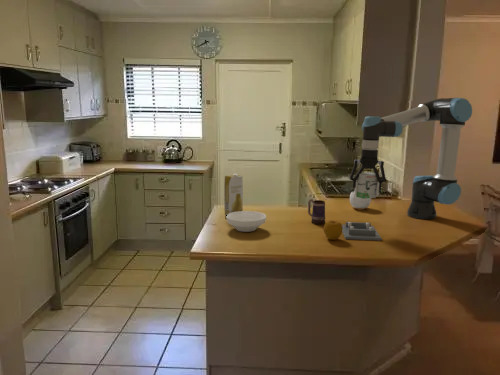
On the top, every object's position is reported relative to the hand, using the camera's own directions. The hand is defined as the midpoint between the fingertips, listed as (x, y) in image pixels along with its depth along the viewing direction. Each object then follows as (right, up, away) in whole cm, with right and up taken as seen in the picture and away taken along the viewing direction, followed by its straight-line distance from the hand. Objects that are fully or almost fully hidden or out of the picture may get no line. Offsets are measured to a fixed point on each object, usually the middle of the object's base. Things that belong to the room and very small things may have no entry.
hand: (366, 195), depth 195 cm
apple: (-19, -20, -11) cm, 30 cm away
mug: (-22, -15, +17) cm, 31 cm away
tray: (-4, -18, -2) cm, 19 cm away
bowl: (-58, -17, +3) cm, 61 cm away
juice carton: (-66, -12, +28) cm, 73 cm away
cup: (+10, -9, +47) cm, 49 cm away
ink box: (0, -1, 0) cm, 1 cm away
